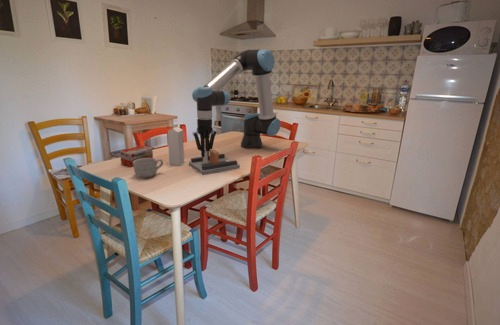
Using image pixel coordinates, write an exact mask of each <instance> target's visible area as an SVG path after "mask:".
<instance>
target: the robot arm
mask: <svg viewBox="0 0 500 325" xmlns="http://www.w3.org/2000/svg"><path fill="white" fill-rule="evenodd" d="M275 60H276V59H275V57H274V54H273V52H272V51H270V50H269V49H265V48H264V49H263V48H260V49H259V48H258V49H245V50H243V51H241V52H240V53H239V54H237V55H235V56H234V57H233V58H231V60H230V61H229V64H227V65H226V66H225V67H224V68H223V69H222V70H221V71H219V72H218V73H217V74H216V75H215V76H214V77H212V78H211V79H210V80H208V82H206V83H205V85H203V86H200V87H197V88H195V89H194V90H193V91H192V94H191V96H192V100H194V102H196V117H197V119H196V122H197V123H196V124H197V128H196V131H195V132H192V136H193V137H194V140H195V144H196V148H197V150H199V151H200V153H201V154H200V157H203V162H204V163H208V159H207V156H210V150H212V149H213V147H214V143H215V137H216V134H217V133H218V132H217V131H216V130H214V129H213V119H212V118H213V107H215V106H216V107H217V106H218V107H219V106H227V105H228V104H229V103H230V101H231V95H230V94H229V93H230V92H228V91H226V90H222V89H223V88H224V87H225V86H227V84H229V83H230V81H232V80H233V79H234V78H235V77H236V76H237V75H239V74H242V73H243V72H245V71H251V73H252V76H253V77H255V83H256V85H255V86H256V90H257V92H256V93H257V100H258V107H259V113H258V112H256V113H246V114H245V115H244V116H243V118H244V119H243V137H242V138H241V142H240V147H241V148H243V147H244V149H248V148H258V149H260V147H261V148H262V147H263V142H262V138H261V135H265V136H271V137H274V136H276V135H277V134H278V133H279V131H280V130H281V125H282V123H281V120H280V119H279V118H277V114H276V112H274V106H273V97H272V86H271V79H270V78H271V77H270V76H271V74H272V72H273V69H274V68H275V65H276V61H275ZM199 137H200V138H199Z"/></svg>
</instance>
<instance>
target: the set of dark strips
mask: <svg viewBox="0 0 500 325" xmlns="http://www.w3.org/2000/svg"><path fill="white" fill-rule="evenodd" d="M225 155H226V154H224V153H219V159H221V158H225V157H226V156H225ZM207 159H208V160H210V155H209V156H207ZM190 161H191V162H192V163H195V162H202V161H203V157H202V156H199V157H191V158H190ZM237 164H238V161H237V160H231V161H228V162H221V163H215V164H209V165H203V166H202V170H209V169H215V168H221V167H227V166H233V165H237Z"/></svg>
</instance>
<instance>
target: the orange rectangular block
mask: <svg viewBox="0 0 500 325" xmlns="http://www.w3.org/2000/svg"><path fill="white" fill-rule="evenodd" d="M219 154H220V152H219V151H218V150H215V149H213V148H212V149H210V151H209V156H210V162H211V163H212V164H215V163H219Z"/></svg>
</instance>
